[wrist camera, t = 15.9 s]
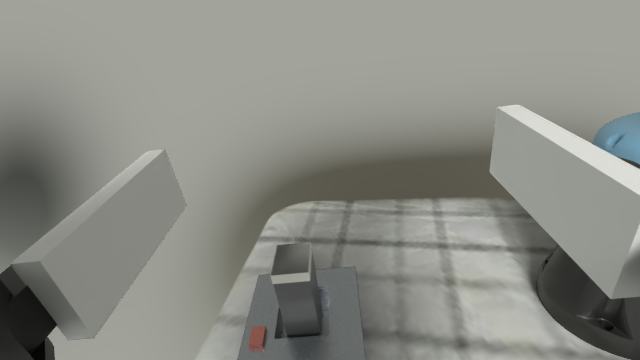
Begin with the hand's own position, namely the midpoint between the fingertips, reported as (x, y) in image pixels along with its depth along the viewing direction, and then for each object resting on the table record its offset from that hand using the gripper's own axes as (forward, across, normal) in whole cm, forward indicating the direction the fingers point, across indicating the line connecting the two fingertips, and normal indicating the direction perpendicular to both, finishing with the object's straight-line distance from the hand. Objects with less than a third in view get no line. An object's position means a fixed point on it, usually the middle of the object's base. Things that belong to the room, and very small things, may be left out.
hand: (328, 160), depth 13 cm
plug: (+16, -7, -30) cm, 35 cm away
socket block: (+16, -7, -30) cm, 35 cm away
